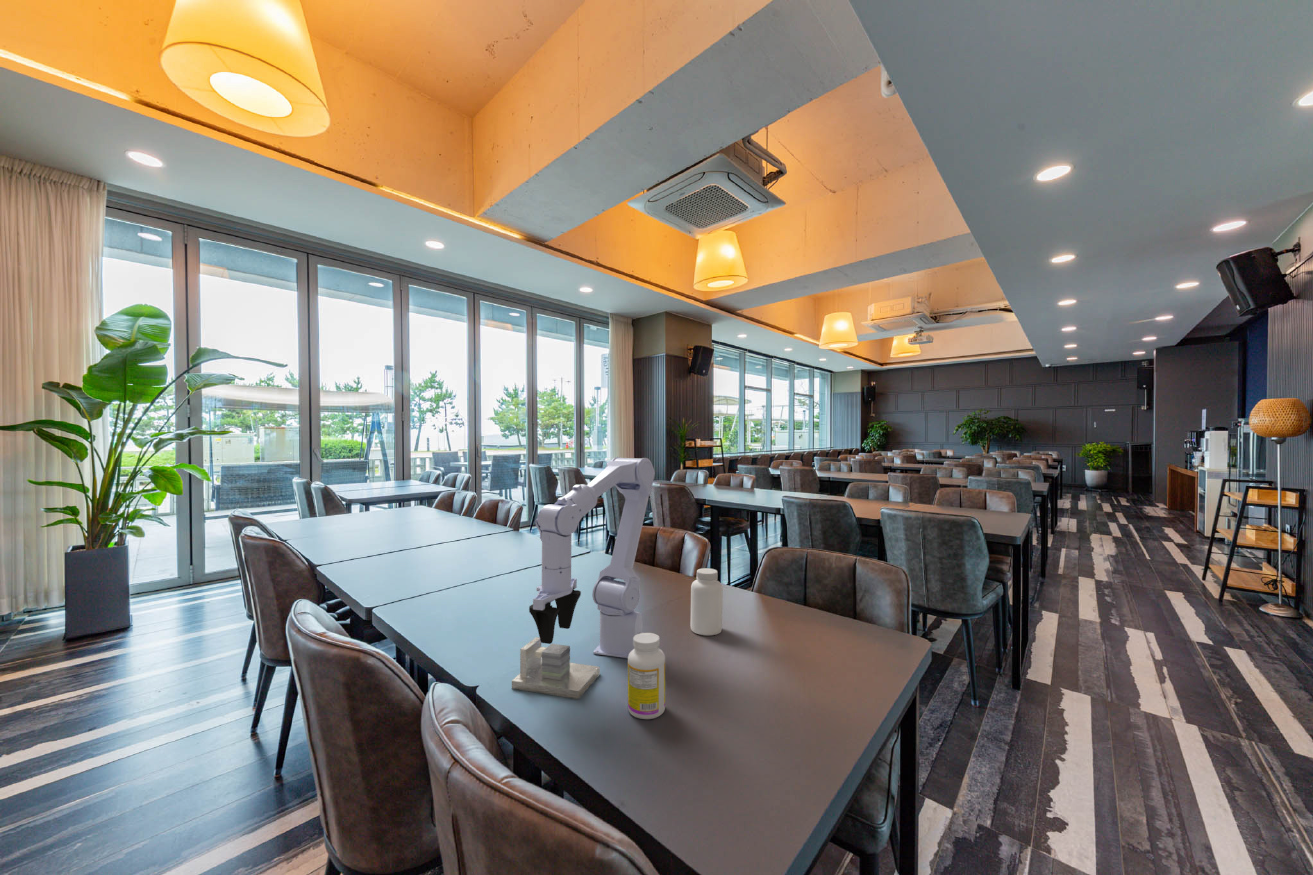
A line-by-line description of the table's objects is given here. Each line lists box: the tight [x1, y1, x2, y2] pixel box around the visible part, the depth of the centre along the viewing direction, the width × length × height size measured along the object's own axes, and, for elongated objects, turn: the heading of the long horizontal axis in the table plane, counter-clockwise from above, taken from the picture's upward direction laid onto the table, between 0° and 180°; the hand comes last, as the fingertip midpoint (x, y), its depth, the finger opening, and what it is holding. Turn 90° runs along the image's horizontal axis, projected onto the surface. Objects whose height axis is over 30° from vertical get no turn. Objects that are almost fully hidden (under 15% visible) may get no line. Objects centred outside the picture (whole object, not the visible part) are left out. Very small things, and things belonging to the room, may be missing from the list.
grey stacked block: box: [541, 643, 571, 681], centre depth 95 cm, size 4×4×5 cm
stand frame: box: [511, 636, 601, 700], centre depth 96 cm, size 14×10×7 cm
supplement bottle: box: [627, 632, 666, 720], centre depth 85 cm, size 7×7×13 cm
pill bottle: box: [689, 567, 724, 636], centre depth 122 cm, size 8×8×15 cm
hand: (555, 634), depth 95 cm, fingers open, 7 cm apart
